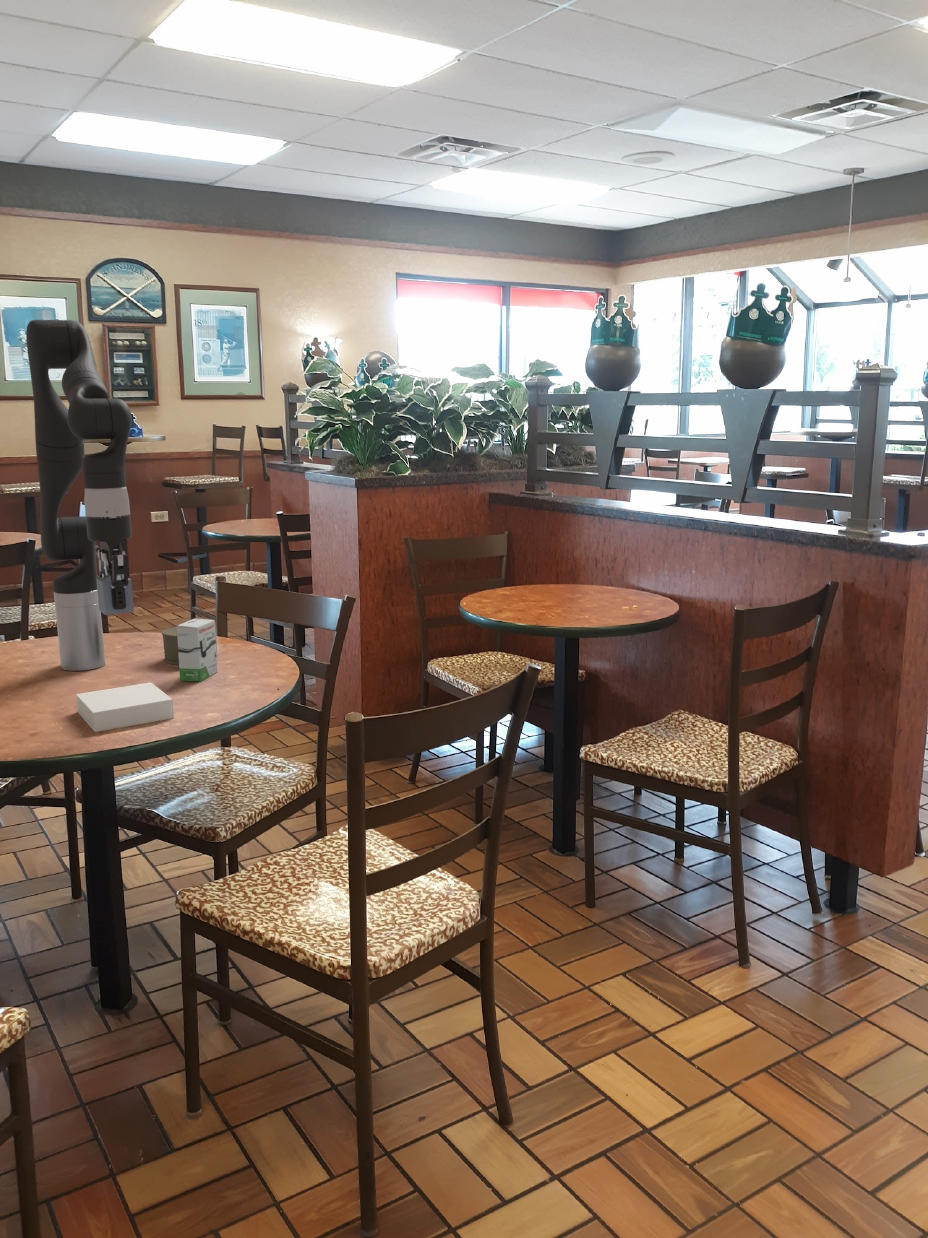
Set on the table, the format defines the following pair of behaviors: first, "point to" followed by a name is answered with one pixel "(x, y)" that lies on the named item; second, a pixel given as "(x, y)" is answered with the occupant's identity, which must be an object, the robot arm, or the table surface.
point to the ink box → (197, 649)
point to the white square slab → (124, 706)
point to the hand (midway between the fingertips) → (115, 605)
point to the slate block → (106, 597)
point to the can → (172, 645)
